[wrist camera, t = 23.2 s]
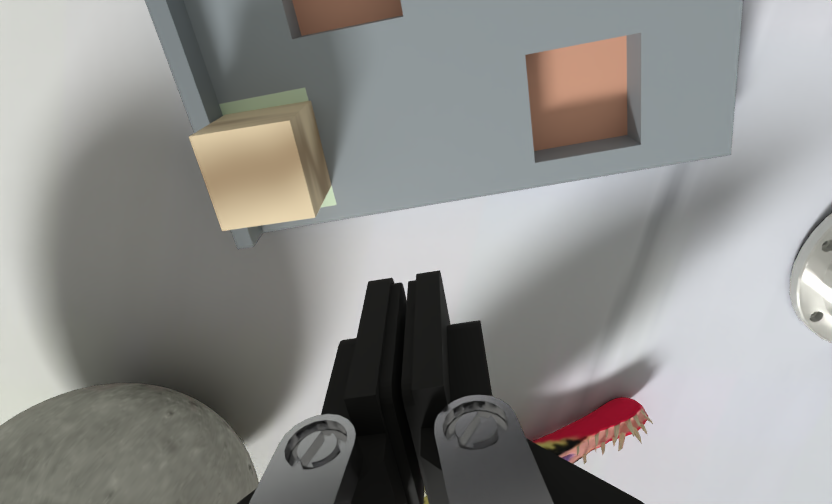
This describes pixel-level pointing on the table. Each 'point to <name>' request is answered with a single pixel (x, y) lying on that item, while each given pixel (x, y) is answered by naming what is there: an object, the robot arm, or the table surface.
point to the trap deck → (464, 88)
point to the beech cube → (263, 165)
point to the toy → (595, 430)
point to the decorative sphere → (122, 450)
